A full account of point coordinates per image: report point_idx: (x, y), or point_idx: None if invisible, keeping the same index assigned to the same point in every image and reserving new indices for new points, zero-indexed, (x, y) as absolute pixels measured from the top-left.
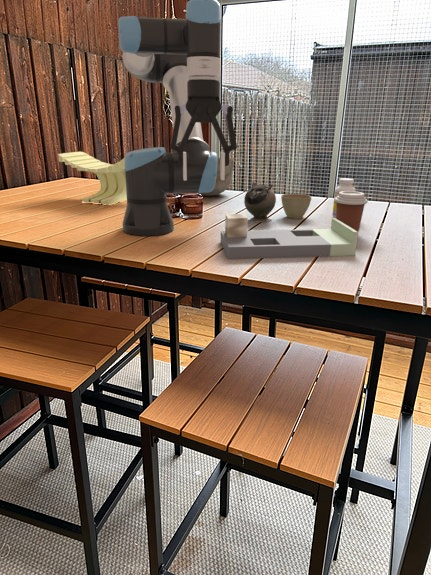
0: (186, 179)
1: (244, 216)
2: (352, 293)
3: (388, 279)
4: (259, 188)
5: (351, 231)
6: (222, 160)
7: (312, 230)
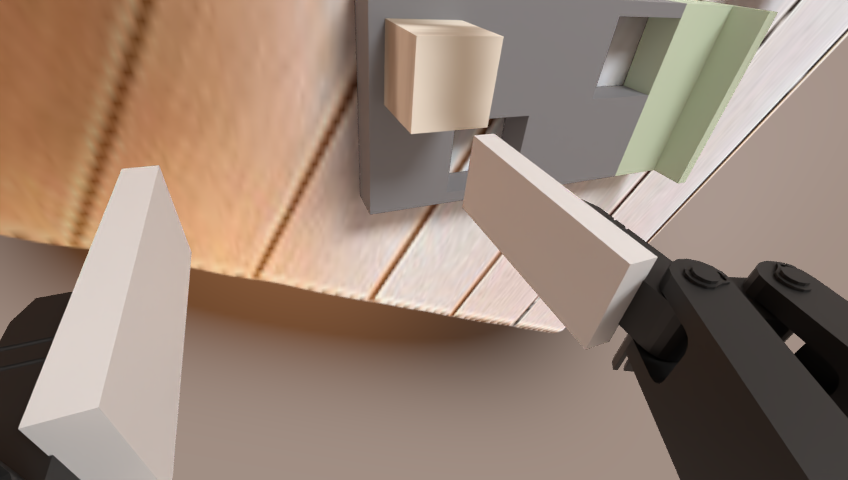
0: (188, 258)
1: (485, 96)
2: (514, 319)
3: None
4: None
5: (683, 168)
6: (545, 296)
7: (678, 18)
